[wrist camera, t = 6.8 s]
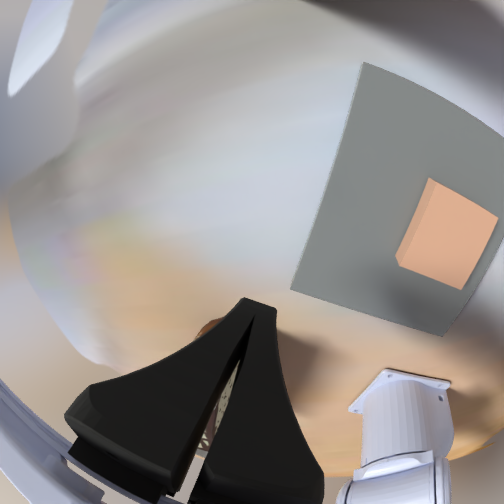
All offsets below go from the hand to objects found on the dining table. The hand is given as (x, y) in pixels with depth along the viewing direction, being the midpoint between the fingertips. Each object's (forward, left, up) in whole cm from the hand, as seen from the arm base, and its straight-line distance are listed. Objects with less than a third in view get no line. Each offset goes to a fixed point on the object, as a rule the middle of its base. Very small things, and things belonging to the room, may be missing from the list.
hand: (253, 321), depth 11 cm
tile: (-7, -4, -8) cm, 11 cm away
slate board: (-9, -4, -10) cm, 14 cm away
